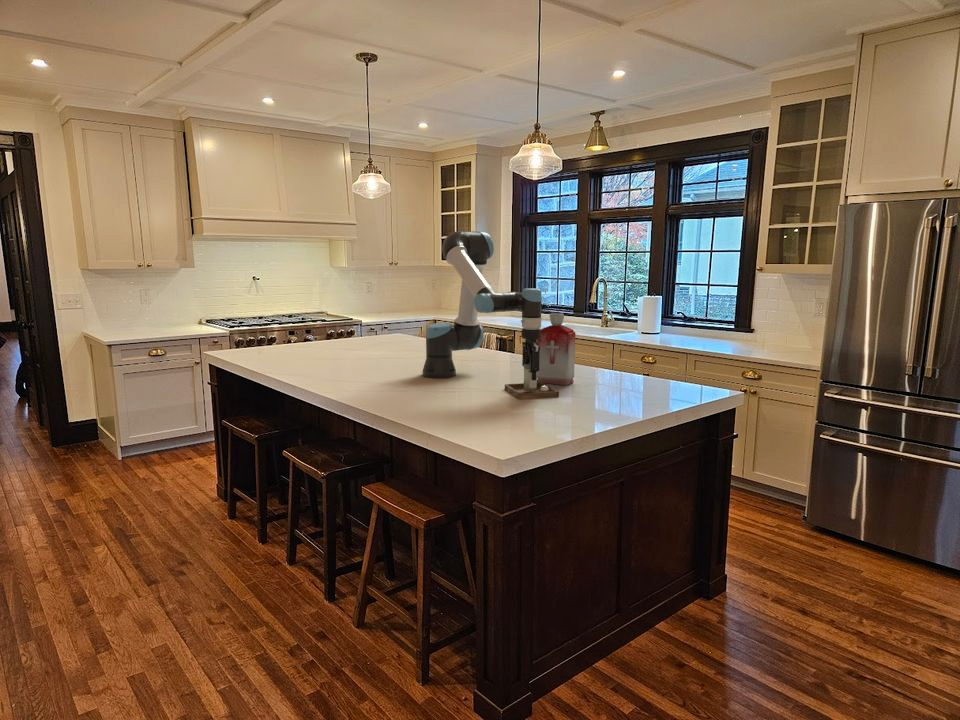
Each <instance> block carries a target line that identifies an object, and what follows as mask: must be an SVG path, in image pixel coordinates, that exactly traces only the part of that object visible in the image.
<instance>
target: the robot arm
mask: <svg viewBox="0 0 960 720" xmlns="http://www.w3.org/2000/svg"><path fill="white" fill-rule="evenodd" d="M441 247H442V249H441V250H442V255H443V257H444V259H445V260H446V262H447V264H449V265H451V266H453V268H454V269H455V271H456V272H457V274H458V275H459V276H460V279H461V287H460V297H459V304H458V305H459V306H458V315H457V317H456V318H454V320H453V324H452V323H451V322H449V321H448V322H446V321H445V322H436V323H432V324H430V325H427V327H426V330H425V345H426V346H425V349H426V351H425V355H426V356H425V358H426V359H425V362H424V365H423V368H422V376H423V377H425V378H432V379H445V378H452V377H455V376H456V375H457V369H456V366H455V364H454V360H453V352H456V351H457V352H458V351H465V350H466V351H467V350H468V351H471V350H474V349H477V348H478V347H480V346H481V344H482V343H483V340H484V330H483V329H484V328H483V327H482V325H481V324H480V321H479V320H478V313H481V314H482V313H485V314H491V313H500V312H502V313H504V312H521V320H520V322H521V328H522V329H521V338H522V339H524V341H521V342H522V343H521V344H522V358H521V359H522V360H521V361H522V363H521V366H522V367H524V364H526V363H530V369H531V371H529V372H530V378H529V388H536V386H537V371H539V353H540V346H537V339H539V338H541V330H540V329H541V328H542V301H543V298H542V289H540V288H531V287H530V288H529V287H528V288H523V289H522V292H517V291H507V292H496V291H494V290H493V288H492V286H490V284H489V283H488V281H487V280H486V279H485V278H484V276H483V269H484V268H483V267H485V266H487V262H488V260H489V259H491V258H492V257H493V255H494V252H495V246H494V242H493V239H492V236H491V234H489V233H488V232H485V231H477V230H476V231H467V230H466V231H460V230H457V231H453V232H451V233H449V234H448V235H447V236H446V237H445V238H444V241H443V242H442V246H441Z"/></svg>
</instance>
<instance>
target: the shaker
mask: <svg viewBox="0 0 960 720" xmlns="http://www.w3.org/2000/svg"><path fill="white" fill-rule="evenodd" d="M529 371H531V369H530V363H526V364H524V366H523V383H524V390H525V391H536V390H537V386H536V388H529V378H530V372H529Z"/></svg>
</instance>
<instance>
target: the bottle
mask: <svg viewBox="0 0 960 720" xmlns="http://www.w3.org/2000/svg"><path fill="white" fill-rule="evenodd" d="M564 319H565V315H564V313H560V312H552V313H550V314H549V321H550V324H551V325H548V326H546V327H543V328H540V330H541V338H539V339H537V346H540V353H539V371H537V382H542V383H544V384H546V385H549V384H550V385H555V386H556V385H557V386H565V387H566V386H569V385H571V384H574V382H575V381H574V377H575V359H576V332H575V331H574V329H572V328H570V327H568V326H565V325H562V324H563V323H564Z"/></svg>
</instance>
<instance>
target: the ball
mask: <svg viewBox="0 0 960 720" xmlns="http://www.w3.org/2000/svg"><path fill="white" fill-rule="evenodd" d="M547 386H548V385H547ZM547 386H545V385H543V386H541V387H540V392H549V388H548V387H547Z"/></svg>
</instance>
